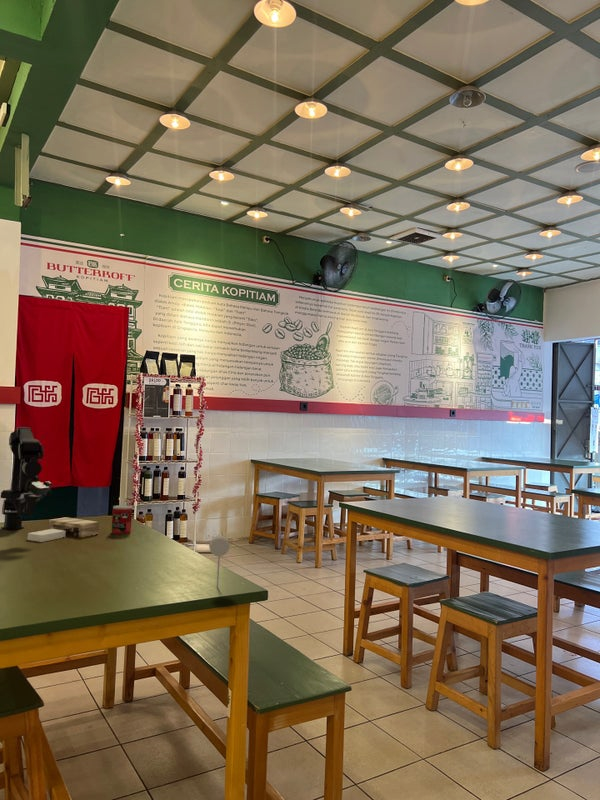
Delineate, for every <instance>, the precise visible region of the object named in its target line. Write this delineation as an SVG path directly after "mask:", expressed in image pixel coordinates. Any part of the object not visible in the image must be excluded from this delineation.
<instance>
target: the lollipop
mask: <svg viewBox="0 0 600 800" xmlns="http://www.w3.org/2000/svg"><path fill="white" fill-rule="evenodd" d="M208 547H209V551H210V553H211V554H212V555H214V556H215V557H217V573H216V588H219V581H220V580H219V578H220V575H219V574H220V561H221V560H220V559H221V558H220V557H223V556H225V555H226V554H228V552H229V550H230V549H231V544H230V541H229V540H228V538H226V537H224V536H222V535H219V536H215V537H214V538H212V539H211V541H210V543H209V546H208Z"/></svg>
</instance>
